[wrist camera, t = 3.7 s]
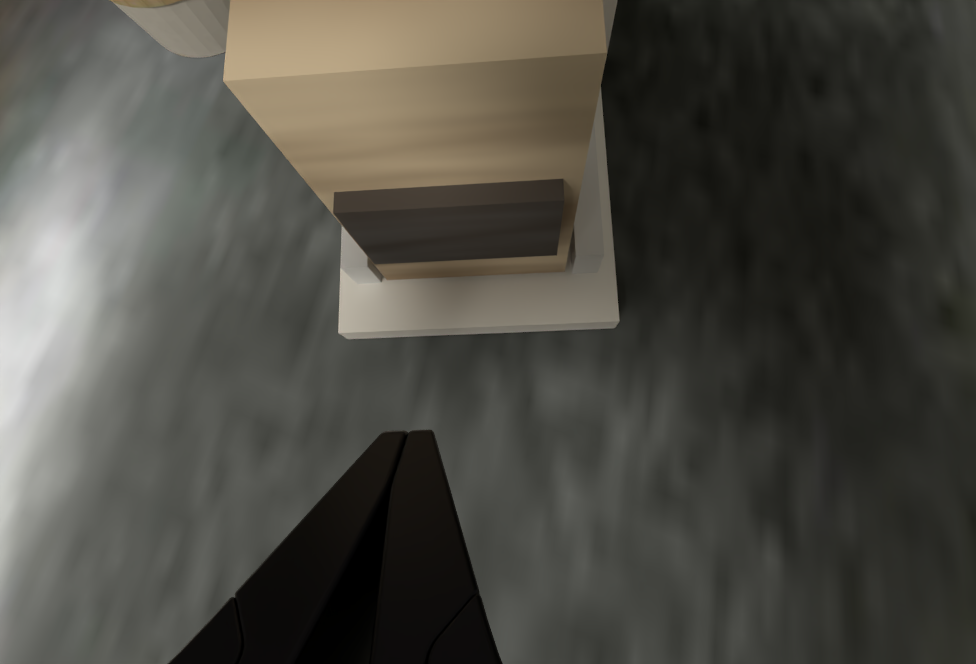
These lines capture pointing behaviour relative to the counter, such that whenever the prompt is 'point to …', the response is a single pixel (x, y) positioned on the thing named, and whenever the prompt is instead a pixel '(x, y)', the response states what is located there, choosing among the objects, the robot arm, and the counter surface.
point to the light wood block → (430, 121)
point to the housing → (498, 277)
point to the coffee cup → (182, 24)
